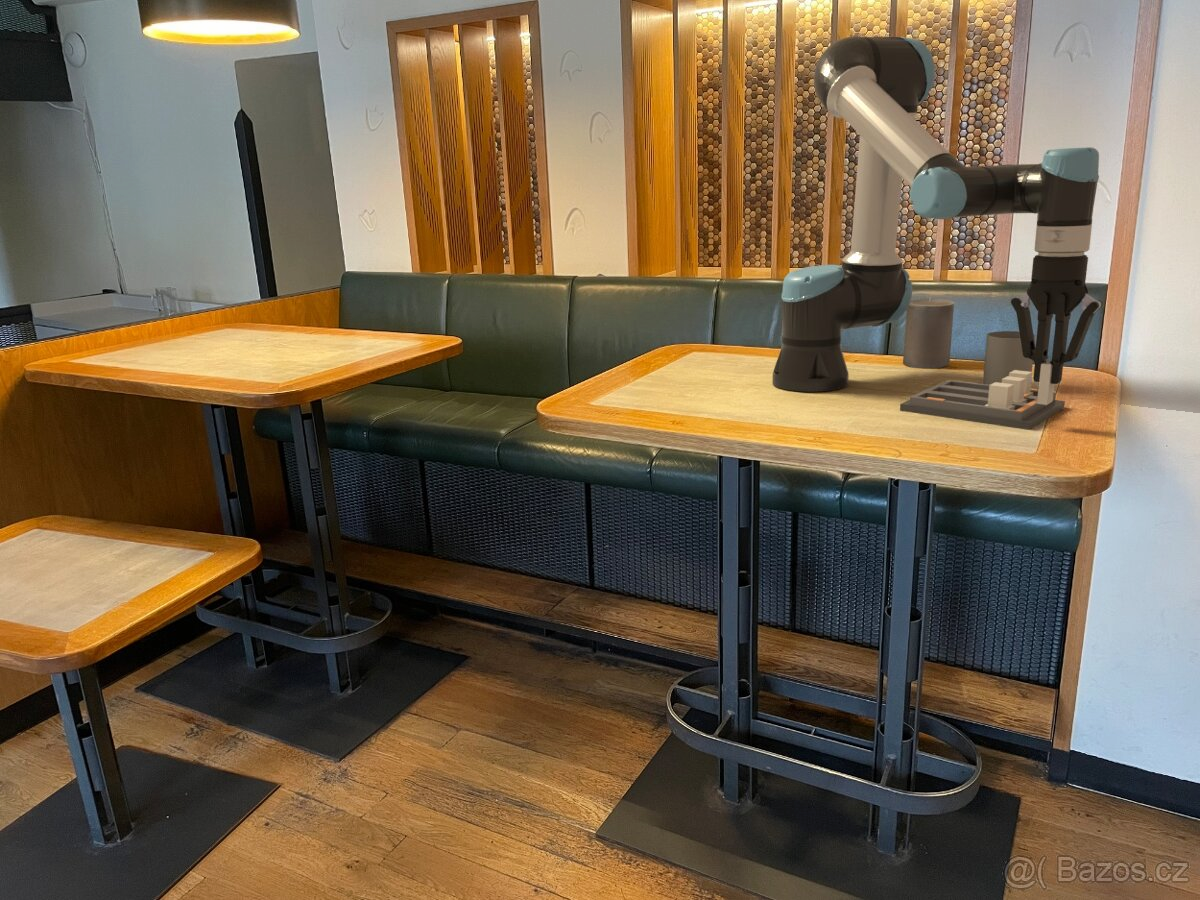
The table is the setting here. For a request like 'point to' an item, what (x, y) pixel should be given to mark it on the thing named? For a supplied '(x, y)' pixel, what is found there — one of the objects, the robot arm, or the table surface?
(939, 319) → the pillar candle
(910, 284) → the robot arm
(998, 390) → the tab front
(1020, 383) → the tab mid
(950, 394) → the slotted block puzzle
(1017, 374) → the tab back
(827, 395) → the table surface
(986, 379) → the cup
